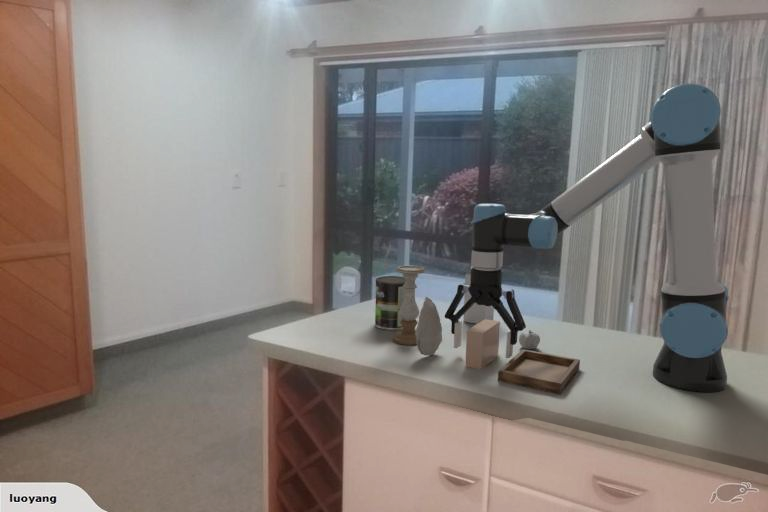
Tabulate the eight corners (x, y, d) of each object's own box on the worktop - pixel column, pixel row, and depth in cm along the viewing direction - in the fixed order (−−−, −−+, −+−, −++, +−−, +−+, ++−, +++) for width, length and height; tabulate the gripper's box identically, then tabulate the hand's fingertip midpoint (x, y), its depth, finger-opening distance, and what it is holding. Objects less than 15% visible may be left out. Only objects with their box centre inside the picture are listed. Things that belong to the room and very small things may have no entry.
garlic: (538, 353, 151) (539, 333, 150) (517, 350, 152) (518, 331, 152) (540, 346, 156) (541, 327, 155) (519, 343, 158) (520, 325, 157)
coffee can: (380, 331, 167) (381, 283, 164) (370, 321, 176) (371, 276, 174) (414, 329, 170) (415, 282, 168) (402, 319, 180) (403, 275, 177)
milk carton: (493, 320, 180) (496, 260, 177) (484, 325, 174) (487, 263, 171) (472, 316, 184) (475, 258, 181) (463, 322, 178) (465, 261, 175)
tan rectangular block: (498, 355, 148) (499, 321, 147) (480, 369, 138) (482, 333, 137) (483, 352, 150) (485, 319, 149) (465, 366, 140) (466, 330, 139)
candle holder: (429, 343, 157) (432, 269, 153) (400, 346, 154) (401, 271, 150) (416, 334, 165) (418, 264, 161) (387, 337, 162) (389, 265, 158)
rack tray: (579, 369, 139) (579, 359, 139) (560, 394, 124) (561, 383, 123) (522, 358, 146) (522, 349, 146) (497, 380, 131) (498, 370, 130)
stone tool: (422, 361, 143) (424, 302, 140) (412, 358, 145) (413, 299, 142) (443, 352, 150) (445, 295, 147) (433, 349, 152) (435, 293, 149)
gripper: (542, 271, 137) (536, 356, 141) (446, 260, 150) (443, 339, 153) (532, 276, 131) (527, 365, 134) (433, 264, 143) (430, 346, 147)
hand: (482, 351), depth 144 cm, fingers open, 13 cm apart
